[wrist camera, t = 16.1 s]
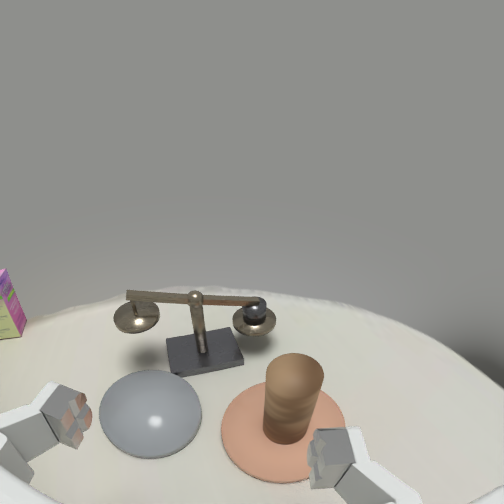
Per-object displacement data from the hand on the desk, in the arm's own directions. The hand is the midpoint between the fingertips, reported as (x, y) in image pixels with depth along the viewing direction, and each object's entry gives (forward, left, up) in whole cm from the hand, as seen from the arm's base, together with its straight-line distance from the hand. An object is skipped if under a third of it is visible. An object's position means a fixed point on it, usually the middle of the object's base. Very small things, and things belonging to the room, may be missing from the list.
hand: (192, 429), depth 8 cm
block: (+3, +12, -21) cm, 24 cm away
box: (-50, +12, -22) cm, 56 cm away
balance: (-10, +22, -22) cm, 33 cm away
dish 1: (-13, +10, -22) cm, 27 cm away
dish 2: (+3, +12, -22) cm, 25 cm away
